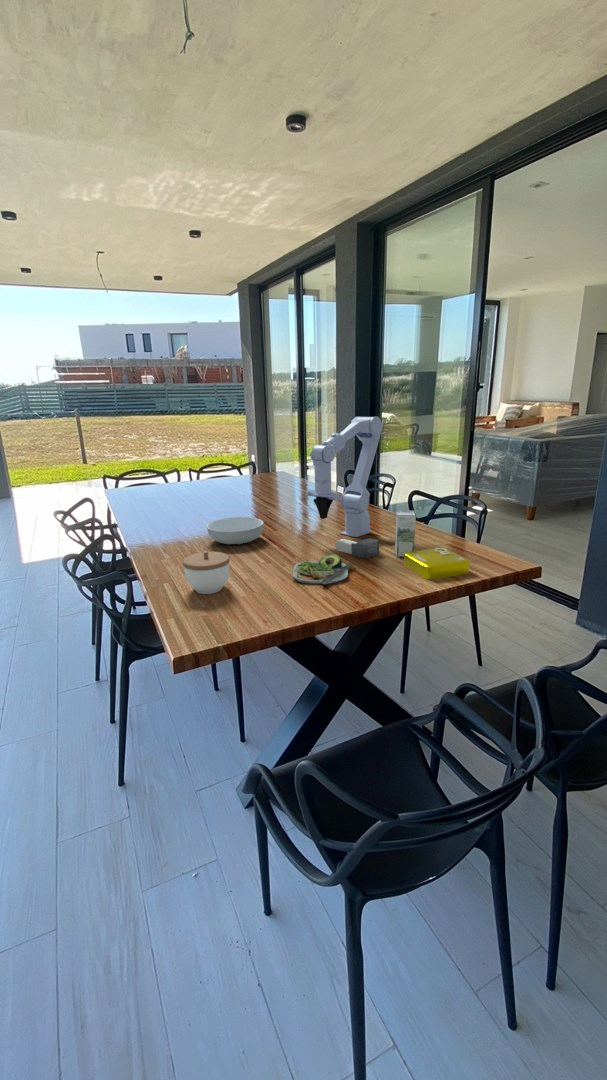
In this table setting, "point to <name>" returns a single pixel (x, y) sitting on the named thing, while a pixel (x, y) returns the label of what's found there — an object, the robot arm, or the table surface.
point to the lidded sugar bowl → (207, 571)
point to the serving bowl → (235, 529)
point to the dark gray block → (365, 548)
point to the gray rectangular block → (344, 545)
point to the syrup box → (404, 532)
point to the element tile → (436, 563)
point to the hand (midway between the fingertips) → (323, 518)
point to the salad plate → (322, 570)
